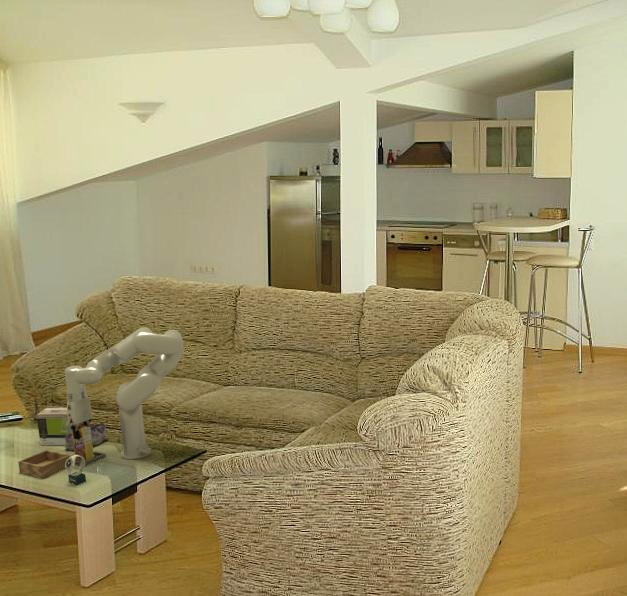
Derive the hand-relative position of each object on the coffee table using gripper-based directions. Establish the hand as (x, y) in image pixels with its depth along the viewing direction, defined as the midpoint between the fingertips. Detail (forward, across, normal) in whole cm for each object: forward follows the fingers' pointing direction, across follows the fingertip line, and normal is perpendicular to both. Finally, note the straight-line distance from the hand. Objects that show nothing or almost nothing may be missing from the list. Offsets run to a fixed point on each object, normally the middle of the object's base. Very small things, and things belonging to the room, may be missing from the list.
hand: (81, 436), depth 395 cm
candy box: (+11, 0, 0) cm, 11 cm away
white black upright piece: (+11, -19, -16) cm, 27 cm away
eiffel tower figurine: (+11, +31, +63) cm, 71 cm away
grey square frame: (+10, 0, 0) cm, 10 cm away
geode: (+11, +14, +13) cm, 22 cm away
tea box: (+11, +12, +28) cm, 32 cm away
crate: (+10, -15, +7) cm, 20 cm away
